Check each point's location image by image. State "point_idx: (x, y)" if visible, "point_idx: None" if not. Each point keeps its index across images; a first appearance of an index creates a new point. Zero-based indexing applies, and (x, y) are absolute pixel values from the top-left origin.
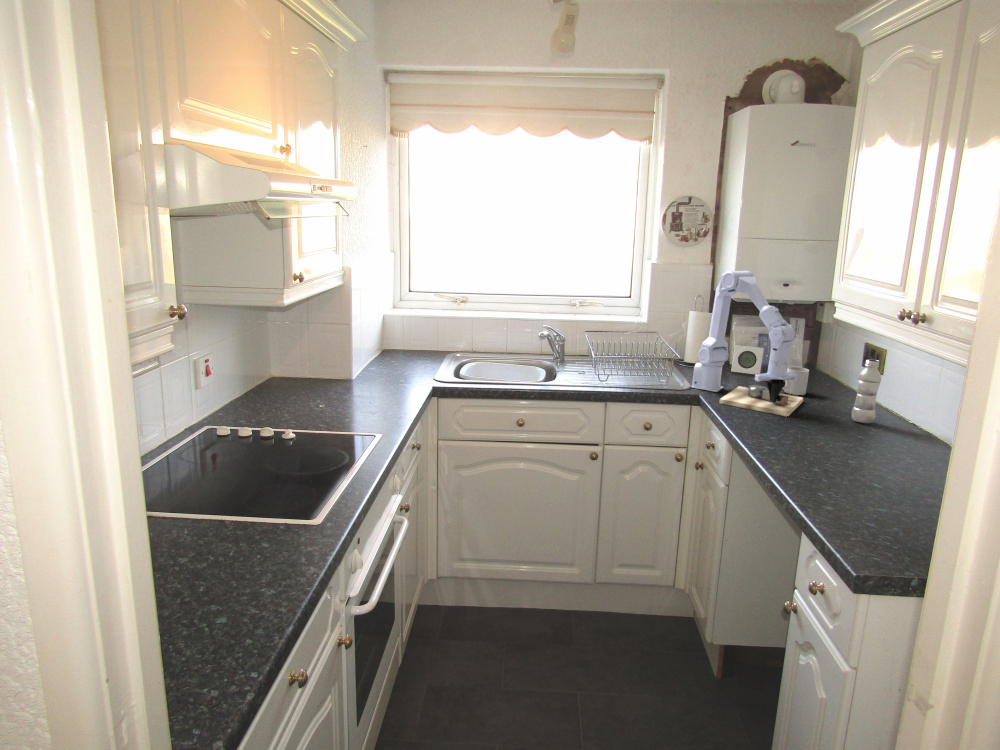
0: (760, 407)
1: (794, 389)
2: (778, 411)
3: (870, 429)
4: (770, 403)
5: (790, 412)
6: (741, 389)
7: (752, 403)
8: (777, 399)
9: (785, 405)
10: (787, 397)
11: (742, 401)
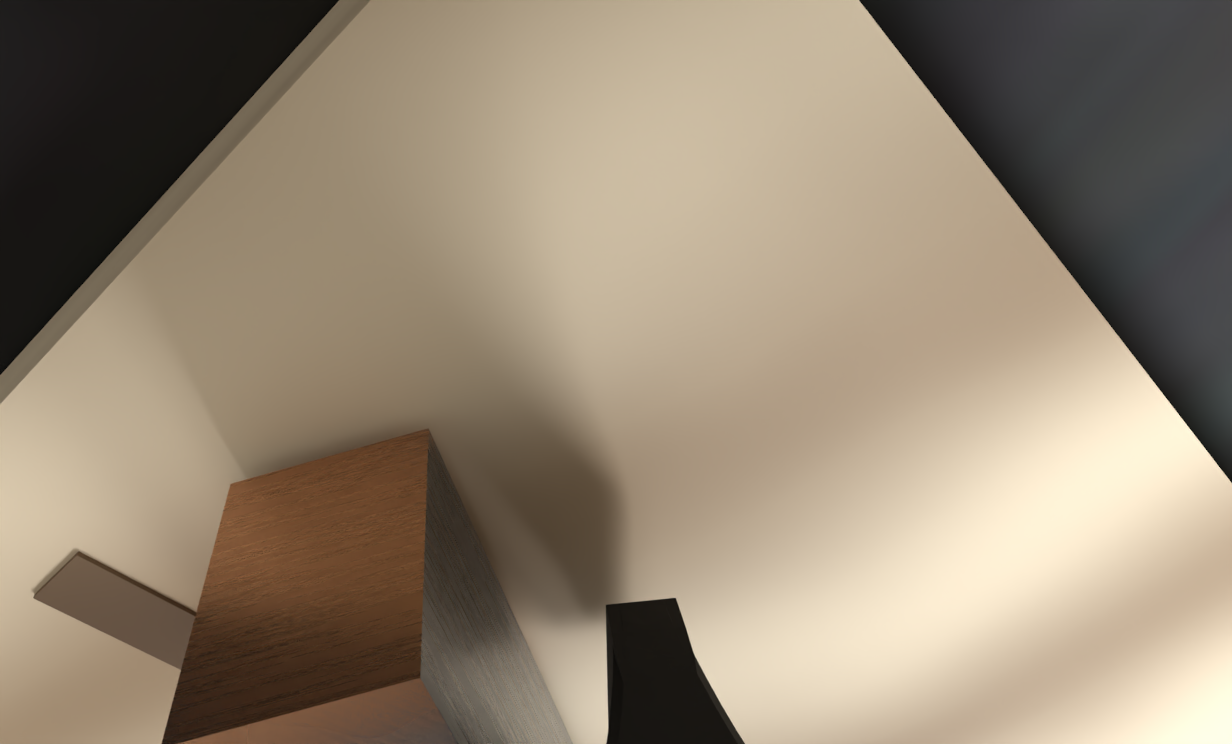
0: (1155, 385)
1: None
2: (861, 12)
3: None
4: None
5: (339, 14)
6: None
7: (1120, 632)
8: (515, 709)
9: None
10: (231, 695)
11: (1213, 737)
